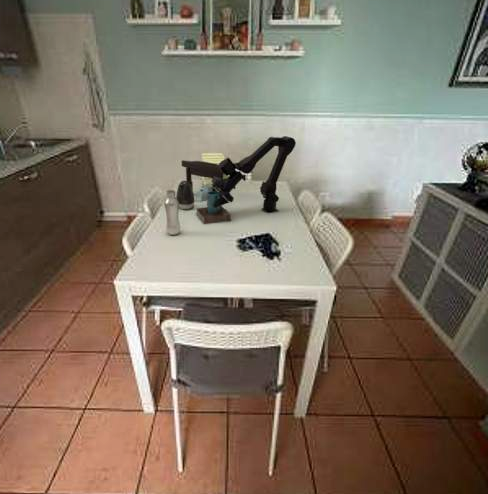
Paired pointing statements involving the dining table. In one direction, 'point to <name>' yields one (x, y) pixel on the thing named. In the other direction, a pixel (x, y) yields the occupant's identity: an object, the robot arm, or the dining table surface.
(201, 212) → the holder
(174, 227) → the plastic bottle
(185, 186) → the black rounded dome
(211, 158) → the pale yellow striped pieces
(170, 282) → the dining table surface
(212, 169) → the stool
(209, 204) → the tumbler
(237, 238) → the dining table surface
